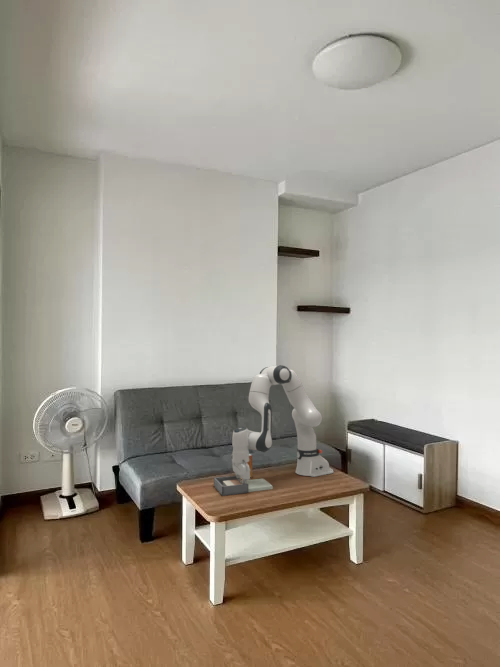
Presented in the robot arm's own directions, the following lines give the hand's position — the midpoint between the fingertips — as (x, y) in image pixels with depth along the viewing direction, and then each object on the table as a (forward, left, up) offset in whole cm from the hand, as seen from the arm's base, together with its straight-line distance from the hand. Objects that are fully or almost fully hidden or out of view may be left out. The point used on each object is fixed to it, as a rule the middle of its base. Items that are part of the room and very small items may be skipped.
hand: (241, 484), depth 251 cm
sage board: (-8, 0, -2) cm, 8 cm away
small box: (-7, -19, -3) cm, 21 cm away
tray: (+6, 0, -2) cm, 6 cm away
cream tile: (+7, 0, -2) cm, 7 cm away
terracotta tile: (+3, 0, -2) cm, 3 cm away
